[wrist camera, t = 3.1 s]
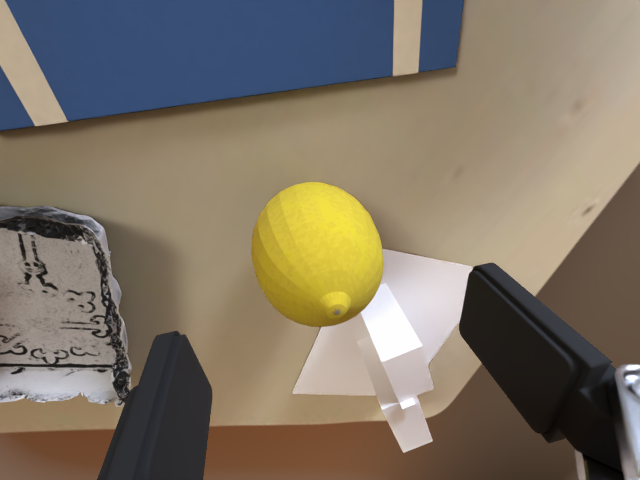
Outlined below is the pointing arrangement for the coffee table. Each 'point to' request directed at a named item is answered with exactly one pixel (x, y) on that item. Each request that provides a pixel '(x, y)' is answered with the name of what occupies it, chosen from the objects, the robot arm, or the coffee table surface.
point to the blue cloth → (204, 51)
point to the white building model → (392, 342)
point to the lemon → (317, 254)
